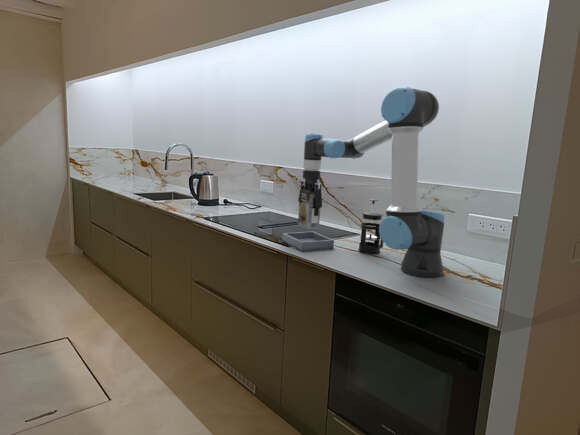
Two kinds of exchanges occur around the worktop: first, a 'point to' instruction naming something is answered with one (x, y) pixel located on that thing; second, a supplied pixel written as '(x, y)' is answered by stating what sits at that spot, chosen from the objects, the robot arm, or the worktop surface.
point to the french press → (370, 246)
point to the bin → (308, 241)
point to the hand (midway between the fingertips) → (308, 220)
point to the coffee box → (307, 210)
